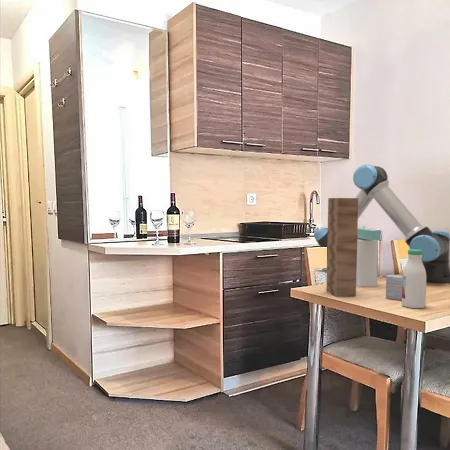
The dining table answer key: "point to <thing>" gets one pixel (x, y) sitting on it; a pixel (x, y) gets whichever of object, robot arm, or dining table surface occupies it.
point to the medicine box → (394, 287)
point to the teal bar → (368, 234)
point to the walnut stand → (342, 246)
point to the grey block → (367, 263)
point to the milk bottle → (414, 281)
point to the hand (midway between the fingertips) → (361, 227)
